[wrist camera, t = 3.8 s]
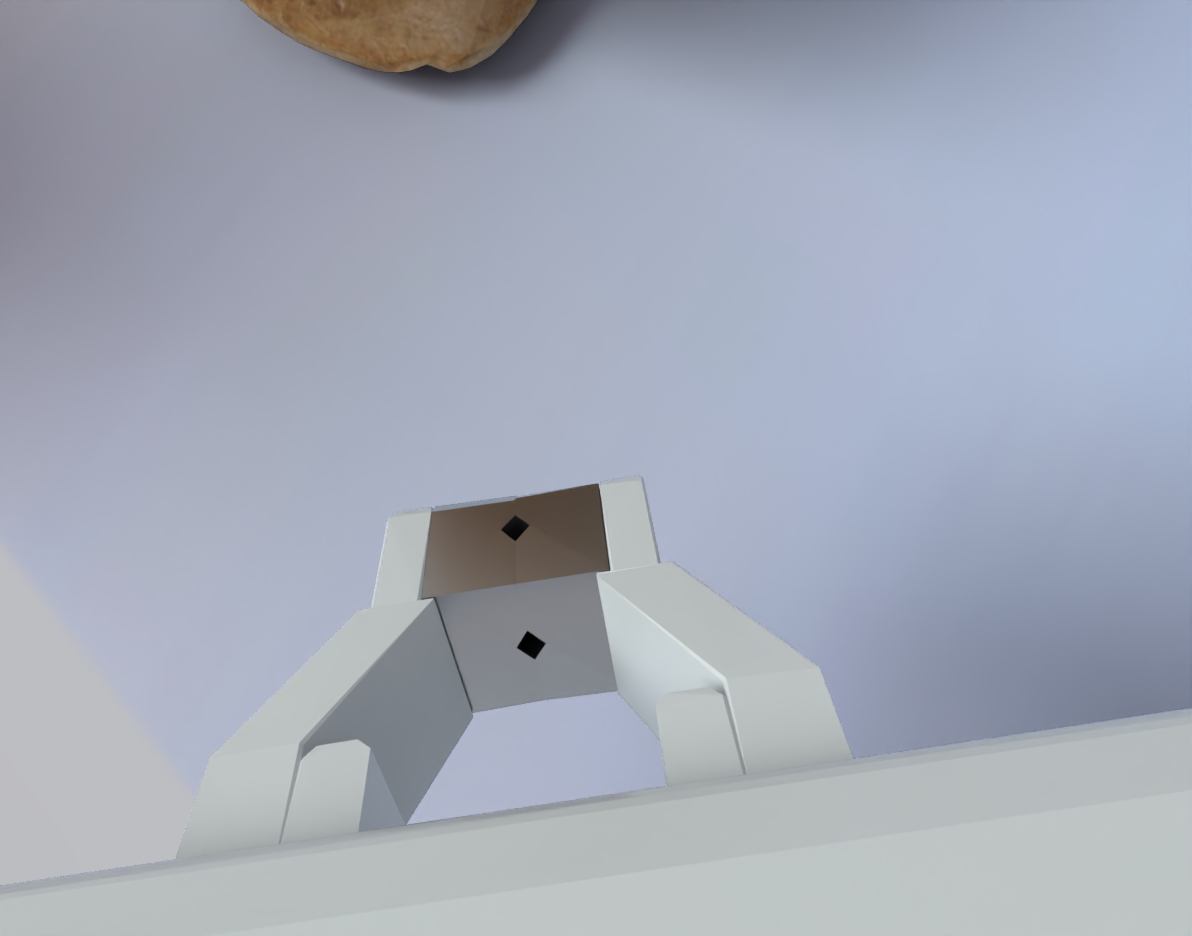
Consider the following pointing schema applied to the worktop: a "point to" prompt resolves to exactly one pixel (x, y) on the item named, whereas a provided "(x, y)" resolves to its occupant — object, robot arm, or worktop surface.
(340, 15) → the brown boot
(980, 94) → the worktop surface
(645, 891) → the robot arm
